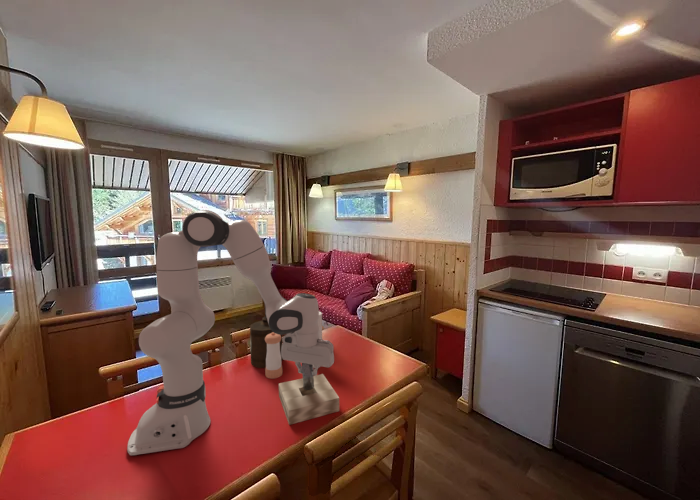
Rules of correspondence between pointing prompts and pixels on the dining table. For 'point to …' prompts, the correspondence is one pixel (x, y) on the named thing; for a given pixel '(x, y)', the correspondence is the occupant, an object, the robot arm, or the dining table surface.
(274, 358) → the pepper shaker
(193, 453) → the dining table surface
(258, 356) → the wooden container
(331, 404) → the socket block
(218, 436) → the dining table surface
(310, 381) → the pin
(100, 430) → the dining table surface
